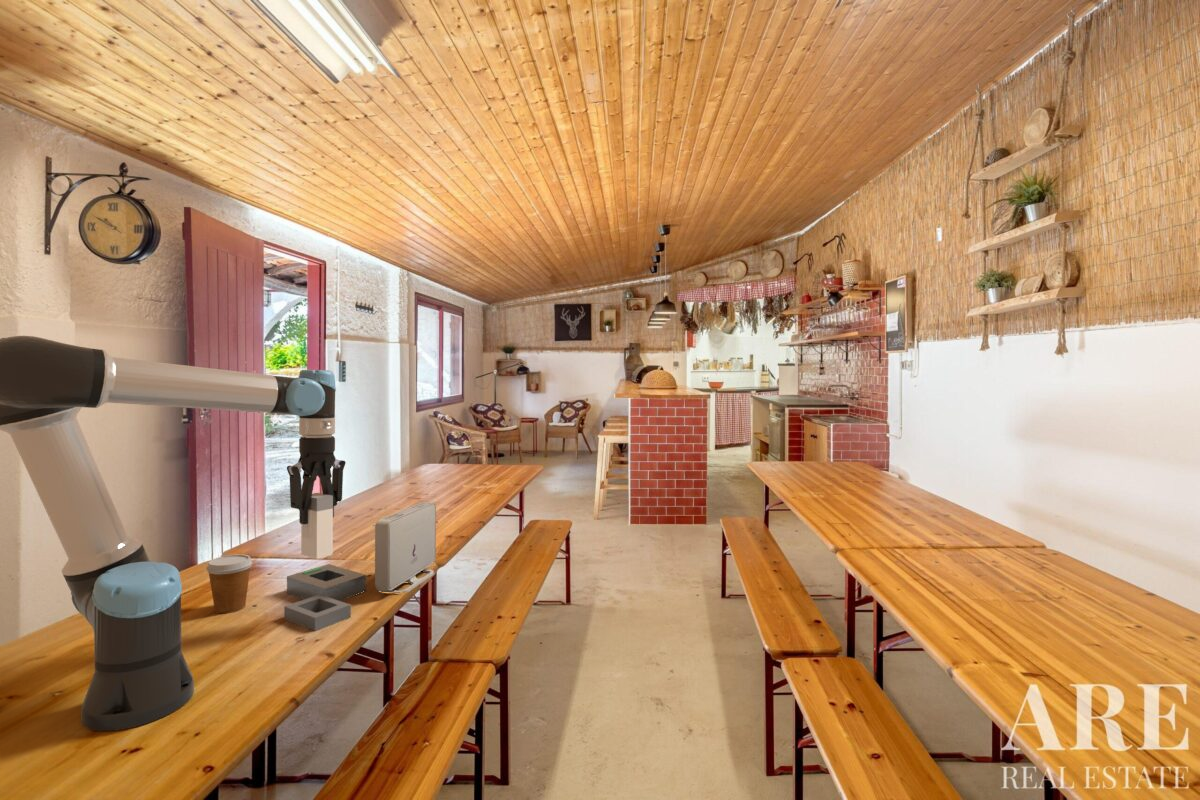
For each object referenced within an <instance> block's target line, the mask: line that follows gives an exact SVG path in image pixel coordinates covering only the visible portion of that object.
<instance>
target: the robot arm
mask: <svg viewBox="0 0 1200 800" xmlns="http://www.w3.org/2000/svg"><path fill="white" fill-rule="evenodd" d="M298 373H299V374H298V377H291V376H290V377H289V376H281V375H271V374H263V373H254V372H247V371H238V370H230V369H221V368H219V369H218V368H213V367H211V368H210V367H203V366H202V367H201V366H194V365H185V364H177V363H176V364H175V363H167V362H159V361H149V360H141V359H132V358H125V357H123V358H122V357H115V356H114V357H113V356H111V355H110V354H109V353H108V352H107V351H106V350H104V349H99V348H92V347H84V346H79V345H74V344H68V343H65V342H60V341H55V340H51V339H48V338H43V337H38V336H33V335H14V336H9V337H1V338H0V431H1V432H5V433H8V434H9V436H10V438H11V439H12V441H13V444H14V446H15V448H16V450H17V452H18V455H19V456H20V458H21V461H22V462H23V465H24V467H25V469H26V472H27V473H28V476H29V478H30V480H31V482H32V484H33V486H34V488H35V490H36V492H37V495H38V497H39V499H40V502H41V504H42V505H43V508H44V509H45V512H46V515H47V516H48V518H49V520H50V522H51V524H52V526H53V529H54V530H55V533H56V535H57V537H58V540H59V541H60V542H59V543H61V547H62V548H63V550H64V553H65V555H66V557H67V562H66V563H65V565H63V568H62V569H61V574H62V576H63V578H64V580H65V582H66V585H67V586H68V588H69V590H70V595H71V602H72V604H73V606H74V608H75V609H76V610H77V612H79V614H80V615H82V616H83V618H84V619H85V620H86V621H87V622H88V624H89V625H90V627H92V629H93V642H94V643H93V645H94V646H93V647H94V673H93V676H92V677H91V681H90V683H89V685H88V689H87V691H86V694H85V696H84V700H83V702H82V704H81V709H80V712H81V714H80V716H81V719H80V721H81V725H82V726H83V727H84V728H86V729H88V730H91V731H96V732H98V731H101V732H107V731H108V732H109V731H112V732H113V731H119V730H126V729H130V728H134V727H137V726H139V727H140V726H142V725H145V724H149V723H151V722H154V721H156V720H159V719H161V718H164V717H167V716H168V715H170V714H172V713H174V712H175V711H177V710H178V709H180V708H182V707H183V706H185V704H187V703H188V702H189V701H190V699H191V700H192V697H193V695H194V694H195V693H194V692H195V684H194V683H195V682H194V676H193V674H192V672H191V670H190V668H189V666H188V663H187V661H186V659H185V656H184V655H183V651H182V591H183V583H182V581H181V575H180V571H179V570H178V569H177V567H176V566H174V565H172V564H169V563H167V562H157V561H150V558H149V556H148V554H147V552H146V549H145V547H144V545H143V542H142V541H141V540H140V539H137V538H134V537H130V536H128V534H127V532H126V529H125V527H124V525H123V523H122V521H121V518H120V515H119V513H118V510H117V509H116V507H115V504H114V502H113V499H112V497H111V495H110V492H109V491H108V487H107V485H106V483H105V481H104V479H103V476H102V474H101V471H100V469H99V467H98V464H97V462H96V461H95V458H94V455H93V453H92V450H91V449H90V446H89V443H88V441H87V440H86V437H85V435H84V432H83V429H82V427H81V425H80V423H79V421H78V419H77V416H78V414H79V412H80V411H81V409H82V408H91V409H98V408H99V407H101V406H102V405H104V404H107V403H109V404H123V405H124V404H126V405H140V406H141V405H142V406H157V407H173V408H175V407H176V408H186V409H187V408H188V409H190V408H191V409H201V410H202V409H205V410H207V409H208V410H220V411H222V410H223V411H236V412H248V413H259V414H261V413H267V414H268V413H269V414H277V415H278V414H280V415H292V416H293V415H294V416H297V417H299V419H298V420H299V423H298V425H299V427H298V434H299V435H300V437H299V438H298V440H299V441H298V450H299V455H300V456H299V458H298V461H297V463H295V464H293V465H287V467H286V470H287V473H288V475H289V493H290V494H289V496H290V500H289V501H290V507H291V508H292V509H294V510H295V509H296V510H298V511H299V512H298V514H299V524H300V525H301V524H303V535H302V537H305V538H309V539H310V538H312V537H313V510H310V509H309V507H310V502H311V497H312V494H313V490H314V486H315V482H316V481H317V478H319V480H320V481H319V482H320V486H321V491H322V494H327V495H332V496H333V518H334V517H335V507H336V506H337V505H338V502H342V501H343V484H344V483H343V482H344V479H343V478H344V469H345V466H346V463H347V462H346V461H345V460H341V459H337V458H336V456H335V453H334V452H335V451H336V437H335V436H333V435H334V434H335V433H336V414H335V413H336V410H335V409H336V391H337V388H336V378H335V373H334V371H331V370H330V369H329V370H328V369H327V370H326V369H301V370H300V371H299V372H298ZM331 468H332V471H331ZM302 471H303V473H302ZM301 473H302V474H301ZM301 475H302V477H301ZM302 480H303V481H302Z"/></svg>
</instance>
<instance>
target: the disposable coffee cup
mask: <svg viewBox="0 0 1200 800" xmlns="http://www.w3.org/2000/svg"><path fill="white" fill-rule="evenodd" d="M251 558H252V557H251V555H248V554H242V553H241V554H239V553H237V554H229V555H221V556H219V557H216V558H215V557H214V558H213V559H211V560H209V561H208V565H207V566H206V567H205V568H206V571H207V573H208V575H209V583H210V587H211V588H210V589H211V595H212V602H213V607H214V612H215V613H217V614H218V613H219V614H227V613H228V614H229V612H230V613H235V612H238V611H240V610H242V609H244V608H246V602H247V595H248V589H249V588H248V586H249V580H250V573H251V567H252V565H253V560H252V559H251ZM234 611H235V612H234Z"/></svg>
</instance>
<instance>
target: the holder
mask: <svg viewBox="0 0 1200 800" xmlns="http://www.w3.org/2000/svg"><path fill="white" fill-rule="evenodd" d="M283 608H284V611H283V612H284V613H283V615H284V616H283V617H284V620H286V621H289V622H291V623H294V624H296V625H298V626H301V627H303V628H307V629H308V630H312V631H314V632H317V631H318V630H319V631H320V630H322V629H324V628H327V627H329V626H332V625H335V624H337V623H339V622H341V621H345V620H347V619H349V617H350V618H351V617H352V616H351V615H352V605H351V604H350V603H346V602H343V601H342V600H341V601H338V600H335V599H332V598H329V597H326V596H323V595H320V594H319V595H316V596H314V597H311V598H308V599H302V600H300V601H296V602H293V603H290V604H287V605H284V606H283ZM346 618H347V619H346ZM344 619H345V620H344Z"/></svg>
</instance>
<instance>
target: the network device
mask: <svg viewBox="0 0 1200 800" xmlns="http://www.w3.org/2000/svg"><path fill="white" fill-rule="evenodd" d="M436 504H437V503H435V502H427V501H425V502H423V501H422V502H418V503H416V504H414V505H412V506H410V507H407V508H405V509H402V510H399V511H398V512H394V513H393V514H390V515H387V516H385V517H382V518H380V519H378V520H377V521H376V523H375V525H374V587H375V590H378V591H381V592H394V593H400V592H403V593H404V594H407V593H409V592H410V591H412V590H413V589H414V588H416V587H418V586H419V585H421V584H423V582H425V581H427V580H428V579H429V578H430V577H432V576H434V574H435V571H434V570H433V569H430V568H428V567H430V566H432V565H433V564H434V563H435V561H436V557H437V555H436V554H437V550H436V549H437V547H436V545H437V537H436V535H437V505H436ZM421 571H424V572H423V573H425V572H426V573H427V574H425V575H424V576H423V577H418V578H417V576H416V575H417V574H419V573H422V572H421ZM403 582H408V583H412V584H410V585H409V586H408V587H405V588H404V589H401V590H395V589H396V588H397V587H399V586H400V585H402V584H404V583H403ZM393 590H394V591H393ZM378 591H377V592H378Z"/></svg>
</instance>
